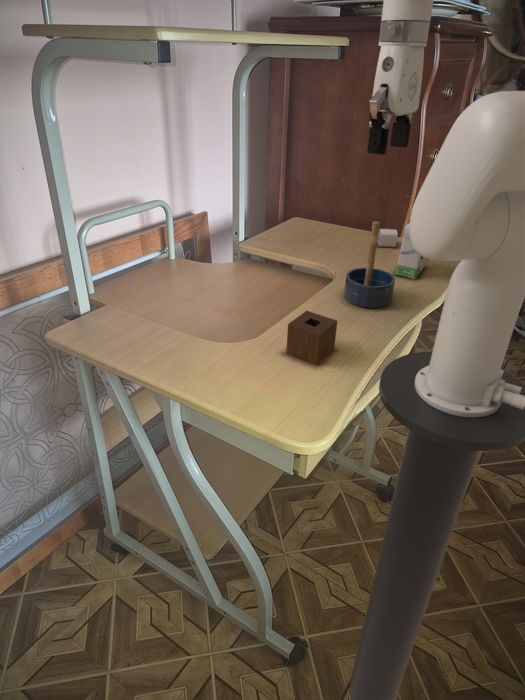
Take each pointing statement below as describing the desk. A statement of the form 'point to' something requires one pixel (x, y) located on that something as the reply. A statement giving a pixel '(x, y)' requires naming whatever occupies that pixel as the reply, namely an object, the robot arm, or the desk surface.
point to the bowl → (369, 288)
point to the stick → (371, 253)
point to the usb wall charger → (387, 237)
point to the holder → (311, 337)
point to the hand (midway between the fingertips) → (387, 150)
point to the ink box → (409, 258)
